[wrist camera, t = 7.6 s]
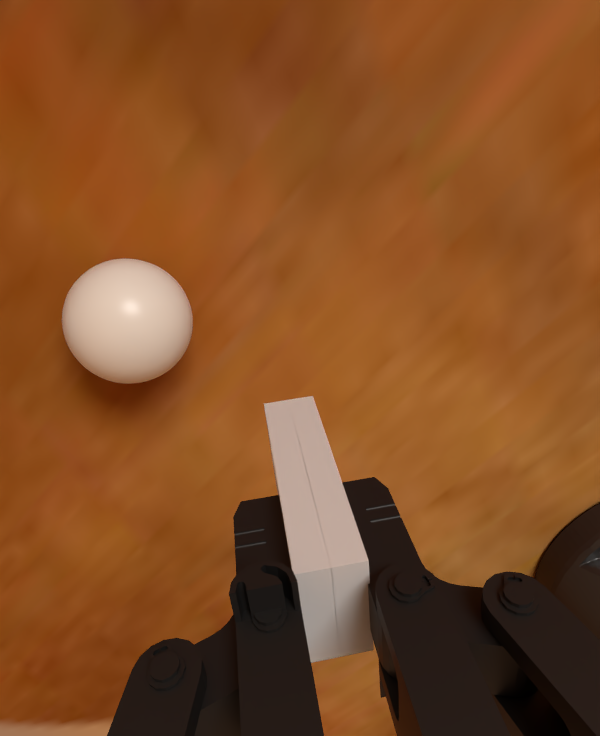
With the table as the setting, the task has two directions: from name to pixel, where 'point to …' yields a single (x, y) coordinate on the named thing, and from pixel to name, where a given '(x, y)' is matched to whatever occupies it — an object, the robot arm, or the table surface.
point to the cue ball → (127, 321)
